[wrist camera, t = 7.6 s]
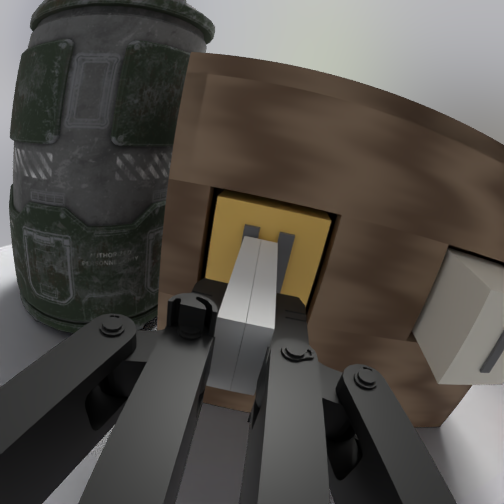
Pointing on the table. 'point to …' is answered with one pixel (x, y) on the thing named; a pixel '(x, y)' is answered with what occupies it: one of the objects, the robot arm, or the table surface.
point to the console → (336, 206)
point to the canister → (97, 154)
